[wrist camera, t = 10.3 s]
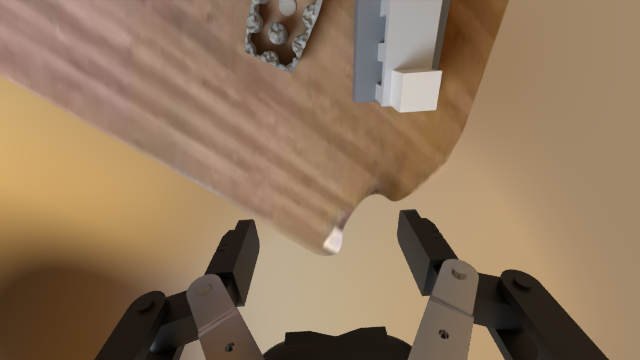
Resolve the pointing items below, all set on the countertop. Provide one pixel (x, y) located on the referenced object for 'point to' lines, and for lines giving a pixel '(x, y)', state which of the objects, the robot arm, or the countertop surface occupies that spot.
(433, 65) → the dock
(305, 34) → the egg carton
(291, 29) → the countertop surface
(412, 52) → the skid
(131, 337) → the robot arm
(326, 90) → the countertop surface
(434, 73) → the block
